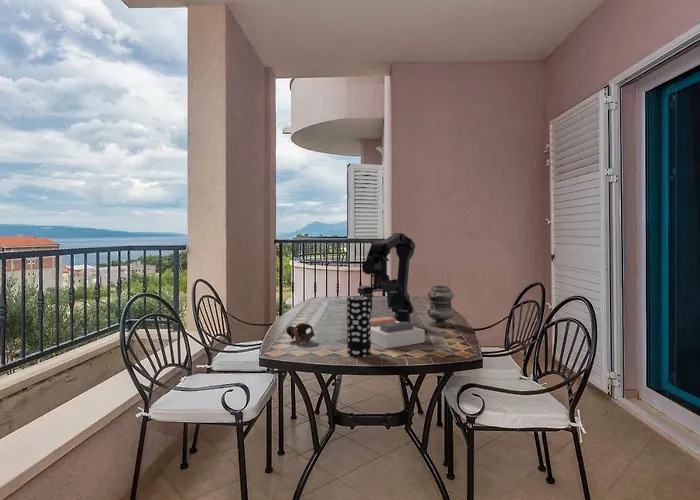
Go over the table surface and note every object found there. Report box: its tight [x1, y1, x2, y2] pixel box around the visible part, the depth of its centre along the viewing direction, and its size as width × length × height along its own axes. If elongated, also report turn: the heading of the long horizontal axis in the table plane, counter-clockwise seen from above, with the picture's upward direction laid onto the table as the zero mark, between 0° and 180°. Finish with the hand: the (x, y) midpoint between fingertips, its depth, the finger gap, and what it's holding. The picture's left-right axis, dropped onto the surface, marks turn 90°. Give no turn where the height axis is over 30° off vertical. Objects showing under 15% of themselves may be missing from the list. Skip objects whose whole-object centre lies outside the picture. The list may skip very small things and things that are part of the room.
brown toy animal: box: [285, 322, 316, 345], centre depth 170 cm, size 12×10×8 cm
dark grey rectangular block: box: [380, 322, 414, 333], centre depth 168 cm, size 12×5×4 cm, turn 118°
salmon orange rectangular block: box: [371, 316, 396, 326], centre depth 179 cm, size 12×5×4 cm, turn 118°
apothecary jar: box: [427, 284, 455, 328], centre depth 198 cm, size 12×12×18 cm
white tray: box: [371, 321, 425, 349], centre depth 174 cm, size 18×24×5 cm
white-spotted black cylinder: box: [346, 295, 372, 358], centre depth 152 cm, size 8×8×20 cm
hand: (380, 309), depth 178 cm, fingers open, 9 cm apart
